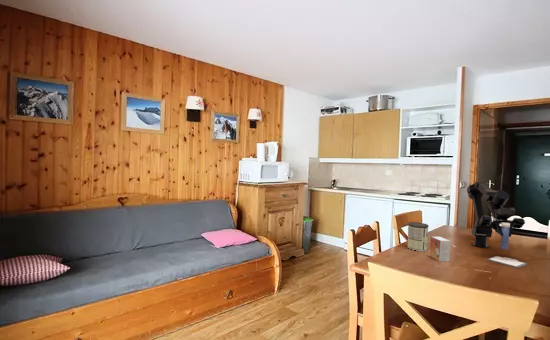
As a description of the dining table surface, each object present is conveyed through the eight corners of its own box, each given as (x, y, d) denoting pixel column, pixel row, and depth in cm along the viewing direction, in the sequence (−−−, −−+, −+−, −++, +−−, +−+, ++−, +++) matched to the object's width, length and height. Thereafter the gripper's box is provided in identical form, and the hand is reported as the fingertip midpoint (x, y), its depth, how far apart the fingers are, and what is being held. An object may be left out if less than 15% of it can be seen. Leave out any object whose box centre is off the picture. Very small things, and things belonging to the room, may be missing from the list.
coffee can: (406, 245, 175) (407, 221, 175) (425, 247, 172) (427, 223, 171) (407, 250, 165) (409, 224, 165) (428, 252, 162) (429, 226, 162)
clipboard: (496, 256, 158) (496, 254, 158) (527, 264, 147) (527, 262, 147) (487, 260, 153) (487, 257, 153) (518, 268, 142) (518, 266, 142)
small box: (429, 256, 156) (430, 236, 155) (439, 256, 156) (440, 236, 156) (439, 261, 148) (440, 240, 147) (449, 261, 148) (450, 240, 148)
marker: (500, 246, 154) (501, 221, 153) (508, 248, 152) (510, 223, 151) (499, 248, 151) (501, 222, 151) (508, 249, 149) (510, 224, 148)
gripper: (482, 200, 157) (490, 225, 146) (524, 202, 152) (536, 229, 142) (475, 212, 165) (483, 237, 154) (515, 215, 160) (525, 241, 150)
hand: (506, 236), depth 150 cm, fingers closed on marker, 3 cm apart
